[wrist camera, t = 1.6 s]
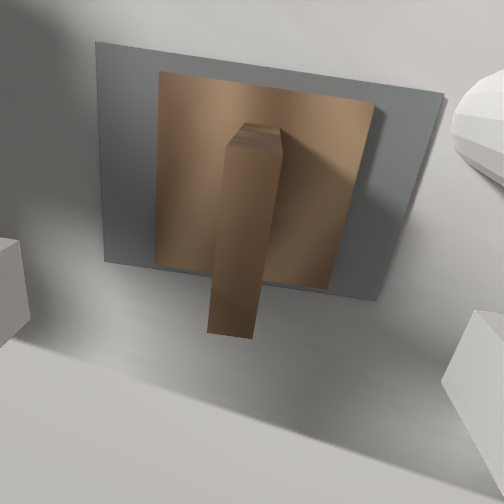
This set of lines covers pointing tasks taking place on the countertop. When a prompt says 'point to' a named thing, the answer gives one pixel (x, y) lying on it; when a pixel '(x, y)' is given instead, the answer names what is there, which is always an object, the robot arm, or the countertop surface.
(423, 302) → the countertop surface
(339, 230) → the board
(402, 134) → the mat
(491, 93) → the white grey-rimmed cup
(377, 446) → the countertop surface
